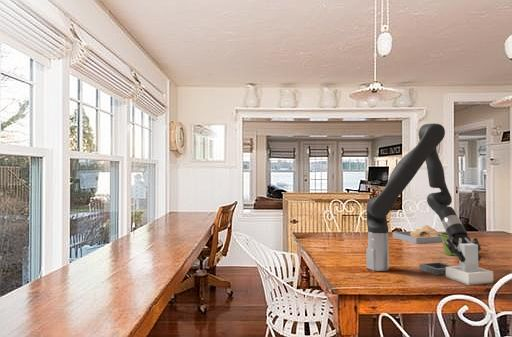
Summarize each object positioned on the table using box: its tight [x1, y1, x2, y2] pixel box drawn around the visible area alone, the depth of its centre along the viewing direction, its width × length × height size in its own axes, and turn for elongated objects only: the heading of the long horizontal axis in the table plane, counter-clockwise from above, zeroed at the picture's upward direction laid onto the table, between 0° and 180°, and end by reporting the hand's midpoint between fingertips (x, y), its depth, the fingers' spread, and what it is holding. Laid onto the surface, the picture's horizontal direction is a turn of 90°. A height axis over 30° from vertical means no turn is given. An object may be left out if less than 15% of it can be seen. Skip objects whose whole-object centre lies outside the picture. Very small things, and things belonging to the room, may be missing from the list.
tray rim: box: [392, 230, 443, 245], centre depth 266 cm, size 24×24×4 cm
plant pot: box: [439, 231, 458, 257], centre depth 219 cm, size 12×12×11 cm
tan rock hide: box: [410, 224, 439, 238], centre depth 263 cm, size 18×14×8 cm
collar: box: [419, 261, 451, 276], centre depth 184 cm, size 11×11×2 cm
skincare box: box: [458, 243, 479, 273], centre depth 169 cm, size 6×4×12 cm
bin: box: [445, 265, 494, 286], centre depth 169 cm, size 12×12×4 cm
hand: (471, 260), depth 167 cm, fingers closed on skincare box, 6 cm apart
